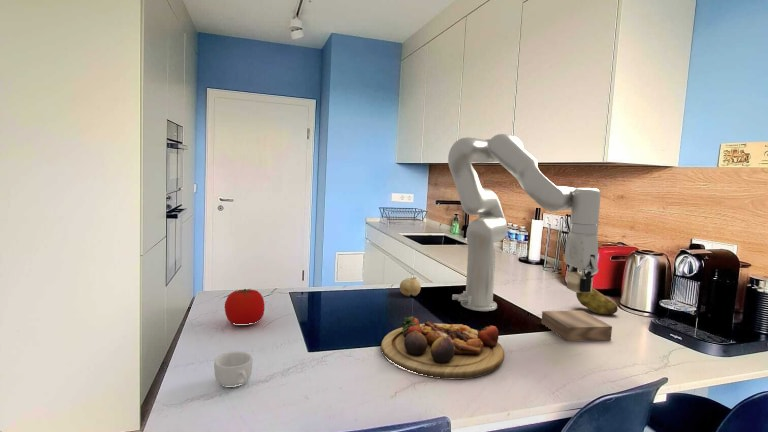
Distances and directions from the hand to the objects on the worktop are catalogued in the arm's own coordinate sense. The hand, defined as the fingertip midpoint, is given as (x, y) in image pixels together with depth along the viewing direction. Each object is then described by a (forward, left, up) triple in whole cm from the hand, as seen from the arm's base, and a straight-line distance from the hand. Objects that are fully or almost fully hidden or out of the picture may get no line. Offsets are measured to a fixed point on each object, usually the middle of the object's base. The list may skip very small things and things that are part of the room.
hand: (578, 288), depth 127 cm
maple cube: (0, 0, -1) cm, 1 cm away
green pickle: (+19, +17, -14) cm, 29 cm away
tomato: (-99, +12, -14) cm, 101 cm away
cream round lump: (-43, +39, -14) cm, 60 cm away
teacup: (-95, -24, -14) cm, 99 cm away
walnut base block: (0, 0, -13) cm, 13 cm away
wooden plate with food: (-45, -10, -14) cm, 49 cm away
